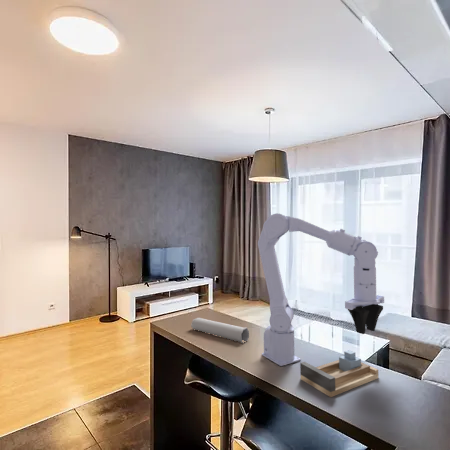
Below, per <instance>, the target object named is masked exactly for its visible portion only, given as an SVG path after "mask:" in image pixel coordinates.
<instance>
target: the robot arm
mask: <svg viewBox="0 0 450 450" xmlns="http://www.w3.org/2000/svg"><path fill="white" fill-rule="evenodd" d="M288 232H289V233H292V232H300V233H304V234H306V235H309V236H311V237H314V238H317V239H320V240H322V241H324V242H325V243H326V245H327V247H328V248H330V249H332V250H335V251H337V252H338V253H339V252H340V253H342V254H344V255H347V256H353V257H354V258H353V261H354V265H353V297H351V298H350V299H348V300H346V301H344V308H345V309H346V310H347V311H348V312H349V314H350V316H351V318H352V320H353V323H354V326H355V330H356V333H358V334H361V335H365V333H366V330H368V331H370V332H375V331H376V327H377V323H378V320H379V317H380V315H381V313H382V312H383V310H384V306H383V305H381V304H384V303H385V296H384V295H379V294H378V295H377V268H376V264H377V263H376V259H377V257H378V255H379V252H378V250H377V246H376V245H375V244H374V243H372V242H370V241H368V240H366V239H362V237H361V236H359V235H358V236H354V235H352V234H350V233H347V232H346V230H345V229H343V228H340V229H336V228H335V229H332V230H327V229H324V228H322V227H320V226H318V225H315V224H312V223H311V222H308V221H305V220H304V219H301V218H298V217H294V216H289V215H285V214H282V213H273V214H271V215H270V216H269V217H268V218H267V219H266V220H265V221H264V223H263V225H262V230H261V232H260V235H259V238H258V241H257V247H258V252H259V256H260V262H261V265H262V271H263V275H264V279H265V280H264V281H265V283H266V287H267V293H268V298H269V311H270V315H269V326H267V327H266V328H265V330H264V332H263V352H262V353H261V356H263V357H265V358H266V359H267V360H270V361H272V362H273V363H274V364H276V365H277V366H280V367H282V366H286V365H289V364H293V363H297V362H300V361H301V360H302V359H301V358H300V357H298V356H297V355H295V354H296V353H295V328H294V326H293V324H292V321H293V320H294V310H293V309H292V307H291V306H290V304H289V302H288V298H287V296H286V292H285V289H284V283H283V280H282V279H283V278H282V275H281V270H280V266H279V262H278V261H279V260H278V257H277V252H276V248H275V245H276V244H277V243H278V241H279V240H280V238H281V237H282V236H284V235H286V234H287V233H288Z"/></svg>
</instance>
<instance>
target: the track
mask: <svg viewBox="0 0 450 450" xmlns="http://www.w3.org/2000/svg"><path fill="white" fill-rule="evenodd" d="M299 367H300V368H299V371H300V380H301V381H303V382H305V383H306V384H308V385H310V386H311V387H313V388H315V389H316V390H318V391H319V392H320V393H323V394H325V395H326V396H327V397H329V398H333V397H335V396H337V395H341V394H342V393H345V392H347V391H350V390H352V389H354V388H357V387H360V386H362V385H364V384H367V383H369V382H372V381H375V380H378V379H379V369H378V368H375V367H373V366H371V365H368V364H367V363H365V362H362V361H361V366H360V367H357V368H354V369H351V370H349V371H346V372H345V371H343V370H341V369H339V359H337V360H334V361H331V362H327V363H324V364H322V365H319V366H314V365H312V364H310V363H309V362H306V361H303V362H300V364H299Z"/></svg>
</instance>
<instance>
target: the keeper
mask: <svg viewBox="0 0 450 450" xmlns="http://www.w3.org/2000/svg"><path fill="white" fill-rule="evenodd" d="M343 354H344V355H340V356H339V357H338V360H339V369H341V370H343V371H345V372H346V371H349V370H351V369H354V368H357V367H360V366H361V362H362V359H361V358H360V357H359V356H356V352H355V351H353V350H350V349H347V350H345V351H343Z"/></svg>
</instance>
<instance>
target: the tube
mask: <svg viewBox="0 0 450 450" xmlns="http://www.w3.org/2000/svg"><path fill="white" fill-rule="evenodd" d="M190 325H191V328H192V329H193V330H194V329H195V330H199V331H202V332H206V333H210V334H214V335H217V336H216V337H218V336H221V337H224V338H223V339H225V338H227V339H226V340H229V339H230V340H229V341H233V340H234V341H233V342H236V341H238V342H237V343H240V342H241V344H242V343H243V342H242V340H244V341H247V342H248V340H249V338H250V331H249V329H248V327H247V326H246V327H242V326H239V325H232V324H229V323H224V322H220V321H216V320H210V319H206V318H202V317H196V318H194V319H192V321H191V323H190ZM195 330H194V331H195ZM199 331H198V332H199ZM202 332H201V333H202ZM206 333H205V334H206ZM210 334H209V335H210ZM214 335H213V336H214ZM221 337H220V338H221ZM243 344H244V343H243Z"/></svg>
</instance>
